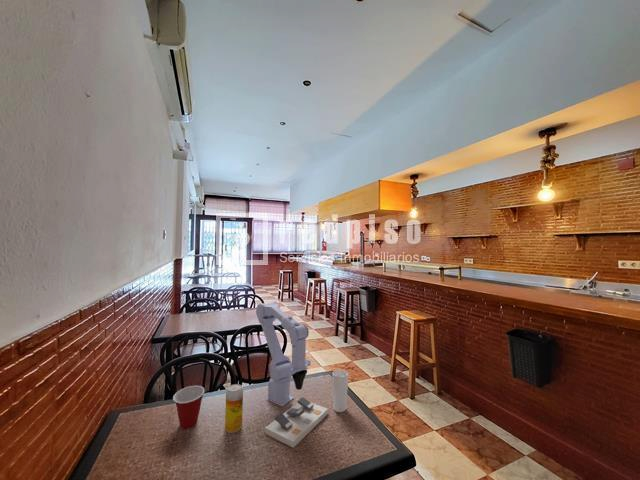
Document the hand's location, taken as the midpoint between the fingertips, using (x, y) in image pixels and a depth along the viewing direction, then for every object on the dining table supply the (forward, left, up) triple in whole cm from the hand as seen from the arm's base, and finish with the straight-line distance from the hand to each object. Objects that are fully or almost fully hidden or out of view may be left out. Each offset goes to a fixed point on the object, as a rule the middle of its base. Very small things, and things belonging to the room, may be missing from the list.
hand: (298, 388), depth 112 cm
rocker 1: (+3, -13, -6) cm, 14 cm away
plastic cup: (-30, -30, -10) cm, 43 cm away
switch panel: (+4, -6, -9) cm, 12 cm away
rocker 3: (+3, +1, -6) cm, 7 cm away
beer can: (-14, -22, -10) cm, 28 cm away
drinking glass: (+13, +11, -10) cm, 20 cm away
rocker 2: (+3, -6, -6) cm, 9 cm away
